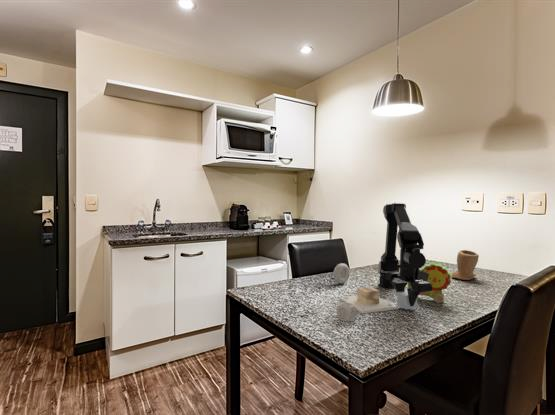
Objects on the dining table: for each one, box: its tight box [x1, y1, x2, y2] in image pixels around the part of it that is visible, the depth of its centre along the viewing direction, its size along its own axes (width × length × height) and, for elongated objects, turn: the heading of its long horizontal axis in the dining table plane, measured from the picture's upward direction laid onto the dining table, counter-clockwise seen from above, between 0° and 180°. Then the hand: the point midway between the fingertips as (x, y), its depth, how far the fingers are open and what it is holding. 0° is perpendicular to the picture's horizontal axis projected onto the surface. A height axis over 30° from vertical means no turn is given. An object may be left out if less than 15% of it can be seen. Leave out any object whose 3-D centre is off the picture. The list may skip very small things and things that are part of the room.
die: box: [336, 302, 358, 323], centre depth 108 cm, size 5×5×5 cm
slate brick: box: [396, 290, 418, 310], centre depth 119 cm, size 5×5×5 cm
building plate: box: [338, 295, 399, 314], centre depth 124 cm, size 16×16×2 cm
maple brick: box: [356, 286, 381, 305], centre depth 124 cm, size 6×6×5 cm
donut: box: [332, 262, 351, 285], centre depth 153 cm, size 10×4×10 cm, turn 125°
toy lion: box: [407, 262, 452, 304], centre depth 130 cm, size 16×5×15 cm, turn 59°
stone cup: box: [450, 249, 480, 281], centre depth 167 cm, size 15×12×15 cm
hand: (406, 303), depth 119 cm, fingers closed on slate brick, 5 cm apart
